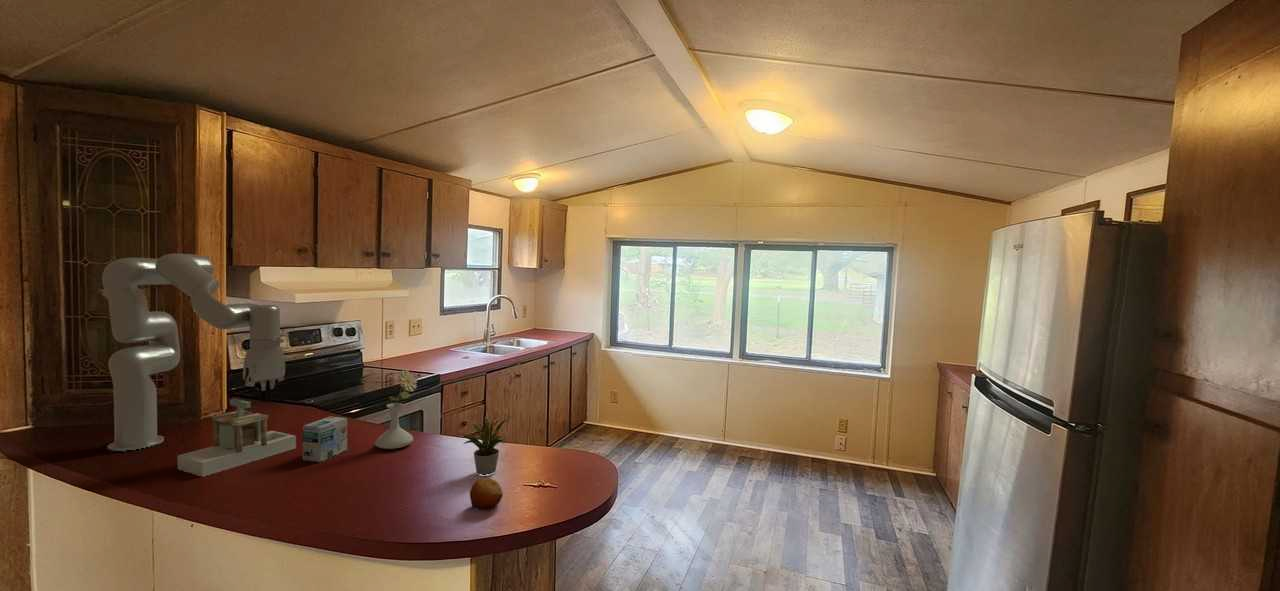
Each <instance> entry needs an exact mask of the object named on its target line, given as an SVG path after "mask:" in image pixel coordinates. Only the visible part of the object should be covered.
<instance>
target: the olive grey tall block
mask: <svg viewBox="0 0 1280 591" xmlns="http://www.w3.org/2000/svg"><path fill="white" fill-rule="evenodd" d="M251 403H252V402H251V401H246V400H242V399H238V398H237V399H236V398H231V399H229V405H230V406H234V407H236V411H237V418H238V417H243V416H244V410H245V409H249V408H251V406H252V404H251ZM244 425H245V426H249V427H253V428H255V441H256V442H260V441H261V440H260V434H261V420H260V421H256V422H252V423H248V424H244ZM242 426H243V425H242ZM235 428H236V425H233V424H223V423H221V424H220V446H223V447H227V448H231V449H235Z"/></svg>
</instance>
